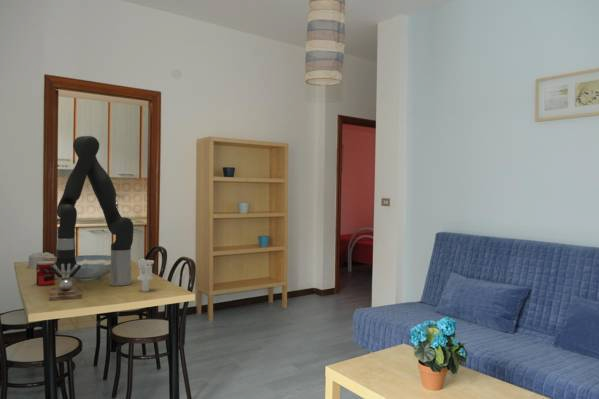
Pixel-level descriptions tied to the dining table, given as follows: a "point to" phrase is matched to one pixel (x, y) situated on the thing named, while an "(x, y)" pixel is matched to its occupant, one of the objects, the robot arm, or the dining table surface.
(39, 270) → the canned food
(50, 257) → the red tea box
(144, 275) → the white tall piece
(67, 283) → the ball
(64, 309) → the dining table surface
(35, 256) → the lumpy-topped squat cylinder
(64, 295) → the wooden cutting board
